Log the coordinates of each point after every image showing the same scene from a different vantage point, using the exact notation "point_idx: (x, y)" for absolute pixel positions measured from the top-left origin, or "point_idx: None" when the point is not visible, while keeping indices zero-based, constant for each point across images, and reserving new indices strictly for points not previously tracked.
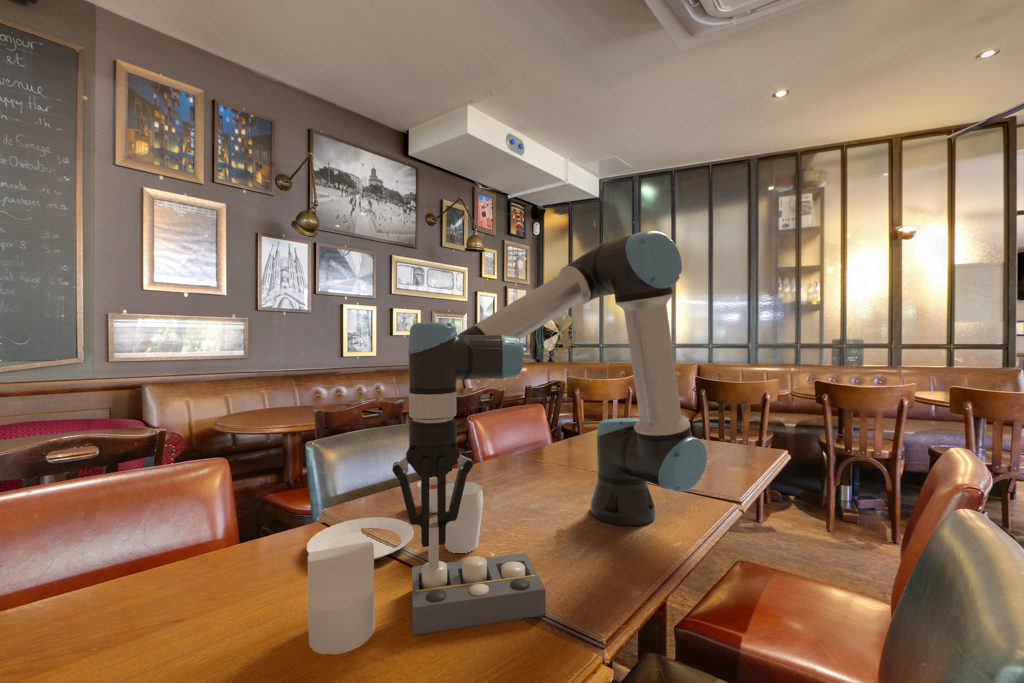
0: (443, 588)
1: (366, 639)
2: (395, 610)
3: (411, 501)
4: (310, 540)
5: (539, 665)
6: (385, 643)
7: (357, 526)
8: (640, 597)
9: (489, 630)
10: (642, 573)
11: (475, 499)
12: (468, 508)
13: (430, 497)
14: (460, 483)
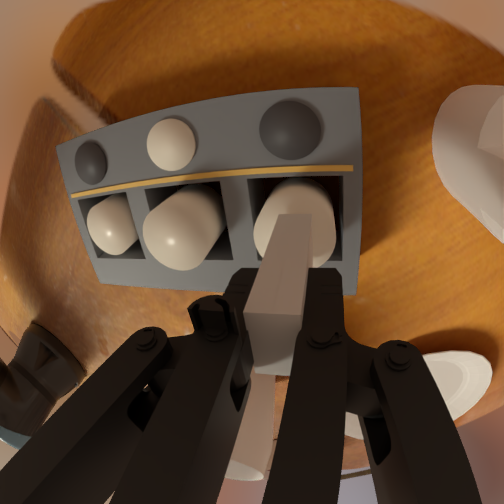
0: (270, 167)
1: (444, 103)
2: (391, 194)
3: (427, 490)
4: (477, 400)
5: (110, 13)
6: (405, 81)
7: None
8: (10, 177)
9: (178, 87)
10: (13, 228)
11: None
12: None
13: None
14: (19, 482)
